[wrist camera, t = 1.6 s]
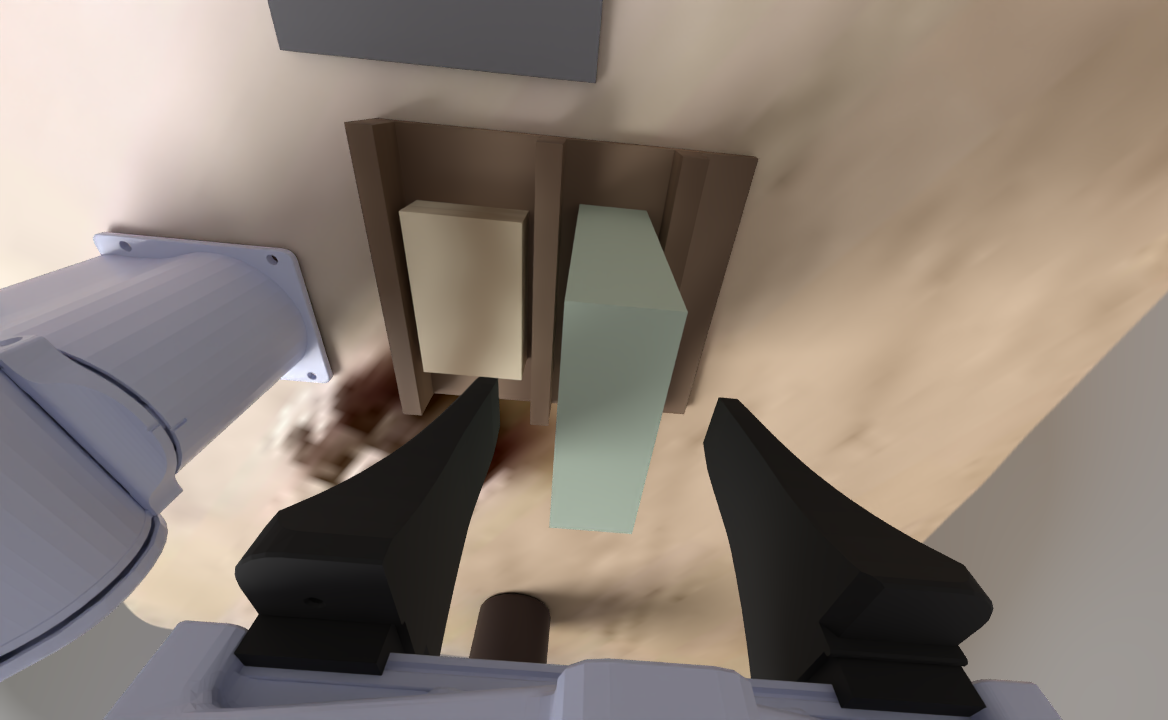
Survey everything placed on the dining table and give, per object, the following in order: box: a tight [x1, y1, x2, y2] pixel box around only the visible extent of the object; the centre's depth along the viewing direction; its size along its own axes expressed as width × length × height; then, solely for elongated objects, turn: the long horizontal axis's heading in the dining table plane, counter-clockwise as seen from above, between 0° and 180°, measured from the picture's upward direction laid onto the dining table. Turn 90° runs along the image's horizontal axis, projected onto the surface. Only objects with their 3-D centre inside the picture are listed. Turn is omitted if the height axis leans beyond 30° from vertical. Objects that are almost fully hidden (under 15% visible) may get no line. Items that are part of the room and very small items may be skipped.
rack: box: [344, 118, 758, 426], centre depth 20 cm, size 16×14×3 cm
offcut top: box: [399, 205, 526, 380], centre depth 19 cm, size 5×8×1 cm, turn 175°
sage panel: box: [549, 204, 688, 534], centre depth 17 cm, size 3×9×10 cm, turn 175°
